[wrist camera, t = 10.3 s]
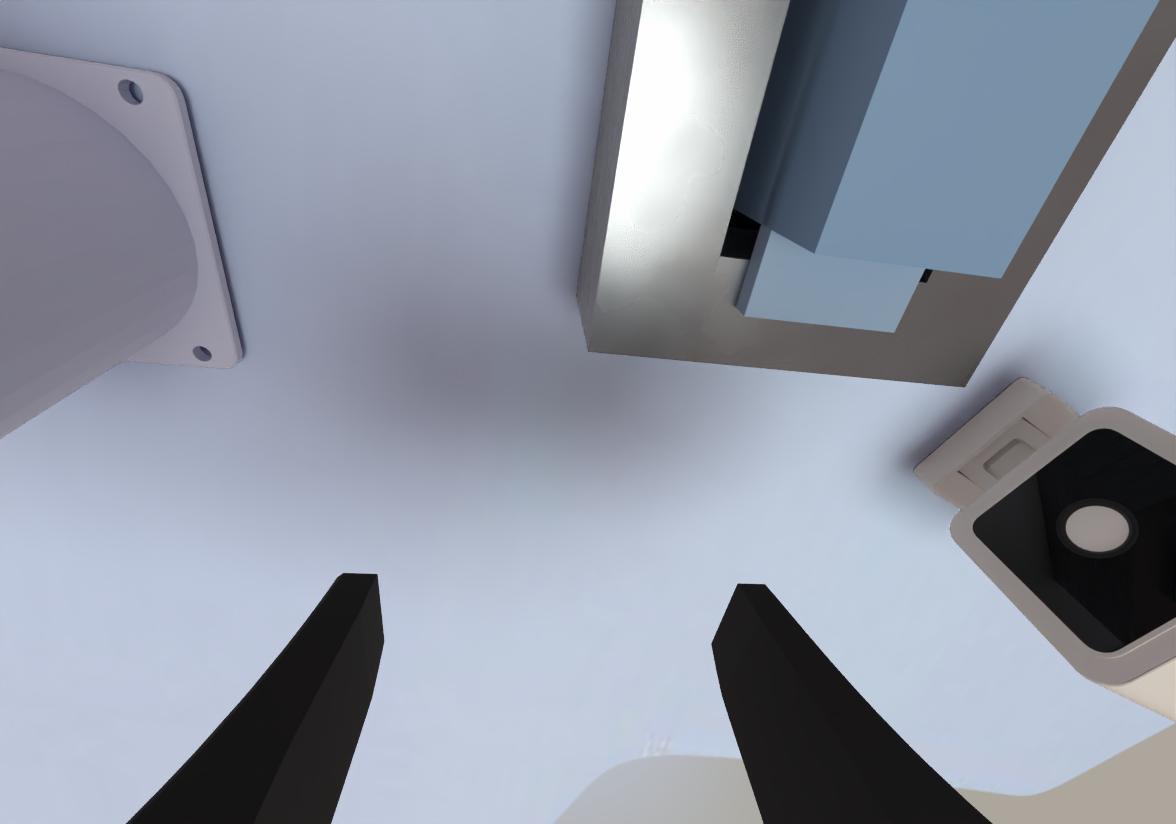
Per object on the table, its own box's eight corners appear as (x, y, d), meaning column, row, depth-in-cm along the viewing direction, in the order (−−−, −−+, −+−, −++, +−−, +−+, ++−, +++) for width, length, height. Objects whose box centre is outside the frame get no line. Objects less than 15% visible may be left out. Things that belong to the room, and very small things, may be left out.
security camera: (1010, 348, 19) (1386, 546, 11) (1099, 424, 22) (1462, 634, 13) (880, 464, 22) (1102, 698, 13) (973, 520, 24) (1210, 749, 16)
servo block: (689, 259, 16) (778, 352, 10) (800, -193, 11) (1100, -522, 5) (804, 273, 17) (949, 369, 11) (958, -150, 12) (1387, -401, 6)
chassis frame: (576, 295, 17) (588, 351, 13) (663, -347, 10) (738, -606, 6) (878, 329, 18) (964, 387, 15) (1128, -202, 12) (1402, -340, 8)
